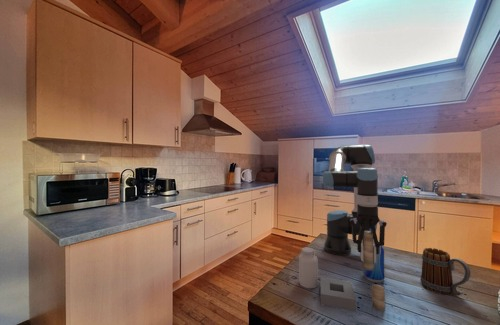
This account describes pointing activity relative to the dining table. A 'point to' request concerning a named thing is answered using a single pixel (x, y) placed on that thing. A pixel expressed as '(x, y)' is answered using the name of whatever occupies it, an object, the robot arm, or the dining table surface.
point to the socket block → (337, 294)
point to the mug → (441, 272)
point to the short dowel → (378, 297)
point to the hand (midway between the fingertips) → (368, 260)
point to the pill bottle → (308, 268)
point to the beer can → (376, 268)
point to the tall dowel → (368, 251)
